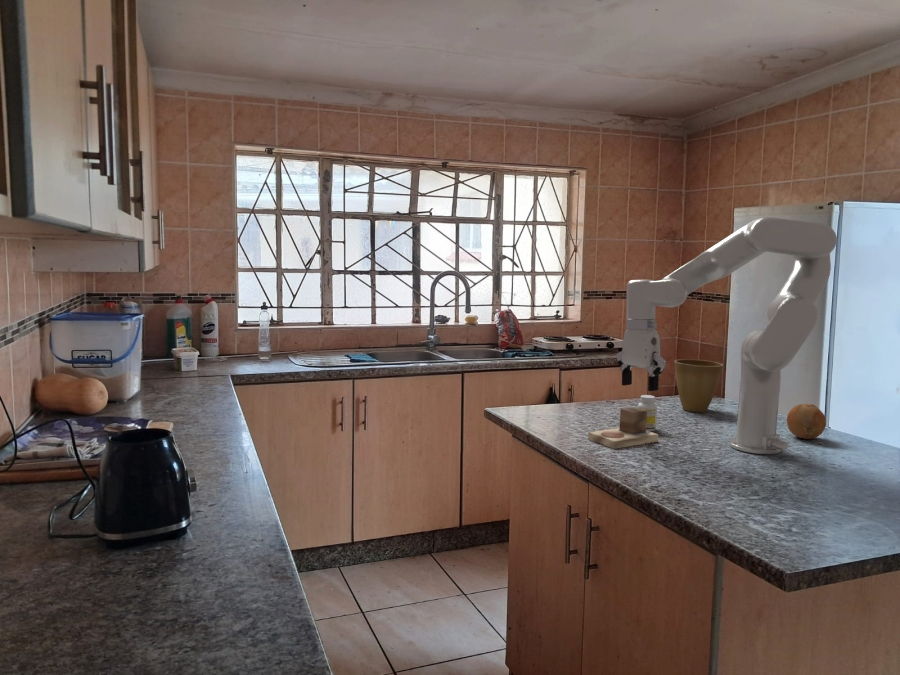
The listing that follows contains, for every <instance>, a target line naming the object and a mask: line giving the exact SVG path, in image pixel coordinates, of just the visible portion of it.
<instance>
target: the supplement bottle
mask: <svg viewBox="0 0 900 675" xmlns="http://www.w3.org/2000/svg"><path fill="white" fill-rule="evenodd" d="M655 401H656V396H654V395H652V394H651V395H650V394H642V395H640V402H639V403H638V404H637V408H639V409H643V410H646V411H647V423H646V431H649V432H653V431H656V430H657V415H658V413H657V412H658V406H657V404H656V403H655Z"/></svg>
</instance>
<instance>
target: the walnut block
mask: <svg viewBox="0 0 900 675" xmlns="http://www.w3.org/2000/svg"><path fill="white" fill-rule="evenodd" d="M619 411H620V413H619V414H620V415H619V427H618V428H619V430H621V431H624V432H627V433H630V434H638V433H644V432H646V423H647V411H646V410H643V409H639V408H638V407H637V406H636V407H635V406H632V407H623V408H620V410H619Z"/></svg>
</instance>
